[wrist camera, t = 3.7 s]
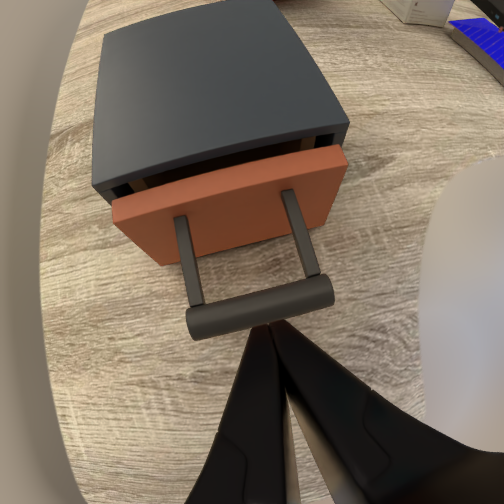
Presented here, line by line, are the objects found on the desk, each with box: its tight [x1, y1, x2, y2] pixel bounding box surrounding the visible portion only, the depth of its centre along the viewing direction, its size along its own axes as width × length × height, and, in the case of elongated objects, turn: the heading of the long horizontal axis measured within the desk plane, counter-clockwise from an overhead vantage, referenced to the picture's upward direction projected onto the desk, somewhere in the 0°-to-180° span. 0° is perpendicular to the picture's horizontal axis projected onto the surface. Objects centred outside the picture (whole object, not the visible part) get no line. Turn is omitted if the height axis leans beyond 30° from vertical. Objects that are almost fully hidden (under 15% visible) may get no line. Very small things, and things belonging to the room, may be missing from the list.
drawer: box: [112, 136, 348, 341], centre depth 18 cm, size 18×11×7 cm, turn 14°
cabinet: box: [92, 0, 350, 206], centre depth 19 cm, size 13×12×9 cm
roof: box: [448, 18, 504, 86], centre depth 25 cm, size 12×12×5 cm
